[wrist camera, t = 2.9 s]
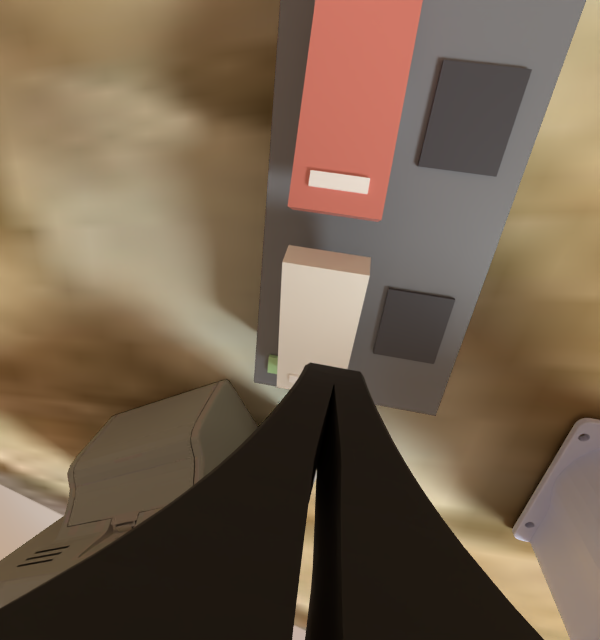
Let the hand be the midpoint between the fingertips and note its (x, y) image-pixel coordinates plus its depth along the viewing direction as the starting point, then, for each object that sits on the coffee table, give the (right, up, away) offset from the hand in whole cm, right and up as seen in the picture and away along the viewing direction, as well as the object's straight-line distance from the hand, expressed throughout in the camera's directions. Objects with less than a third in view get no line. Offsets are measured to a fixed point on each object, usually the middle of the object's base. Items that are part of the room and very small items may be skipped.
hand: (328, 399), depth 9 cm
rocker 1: (+1, +8, +1) cm, 8 cm away
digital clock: (-7, -6, +15) cm, 18 cm away
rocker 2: (0, +2, +4) cm, 5 cm away
